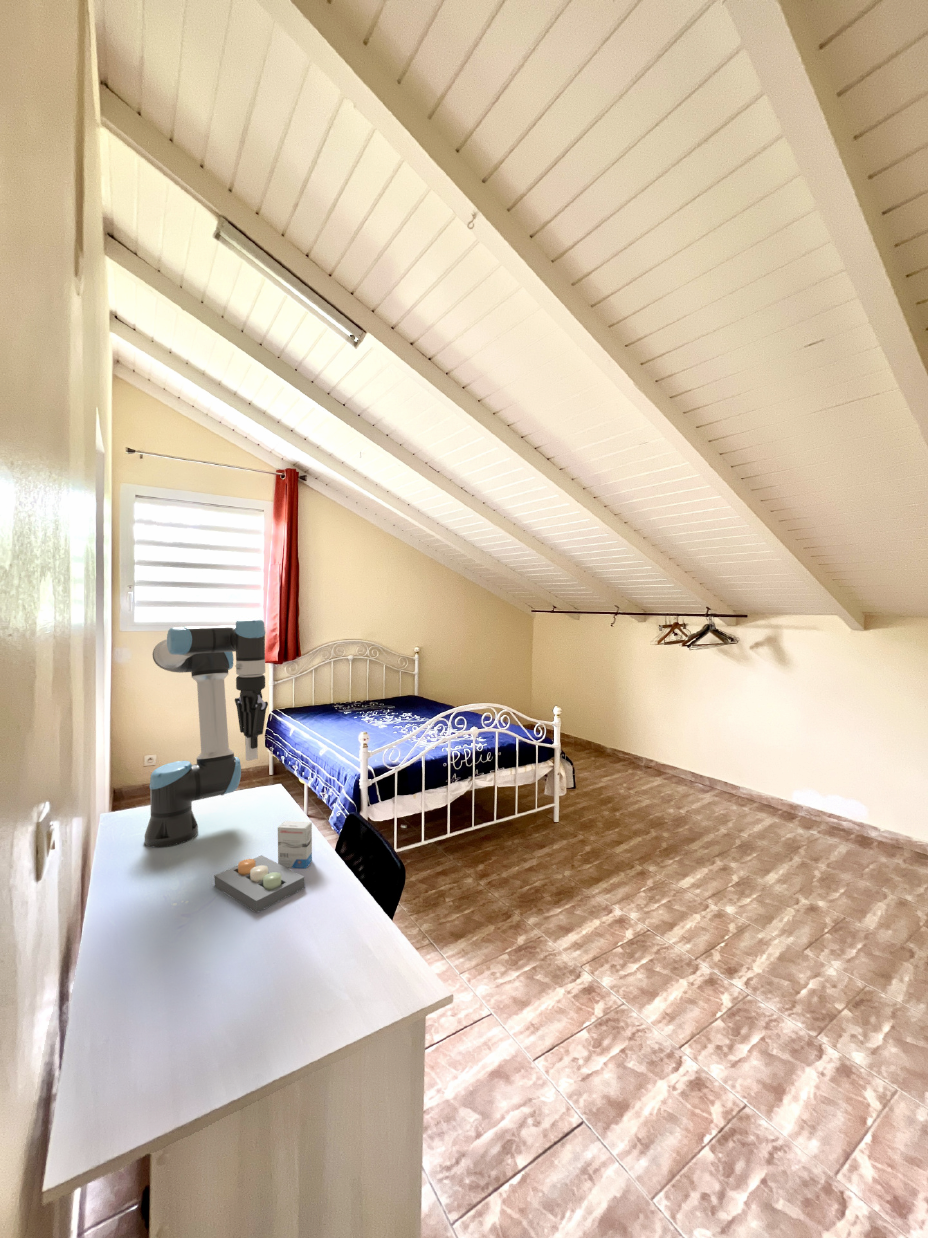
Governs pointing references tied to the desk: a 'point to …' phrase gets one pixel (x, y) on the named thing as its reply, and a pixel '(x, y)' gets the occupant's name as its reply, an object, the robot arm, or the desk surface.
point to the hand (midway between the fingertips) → (251, 759)
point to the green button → (271, 880)
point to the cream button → (258, 873)
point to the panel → (259, 885)
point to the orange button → (245, 866)
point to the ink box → (295, 844)
